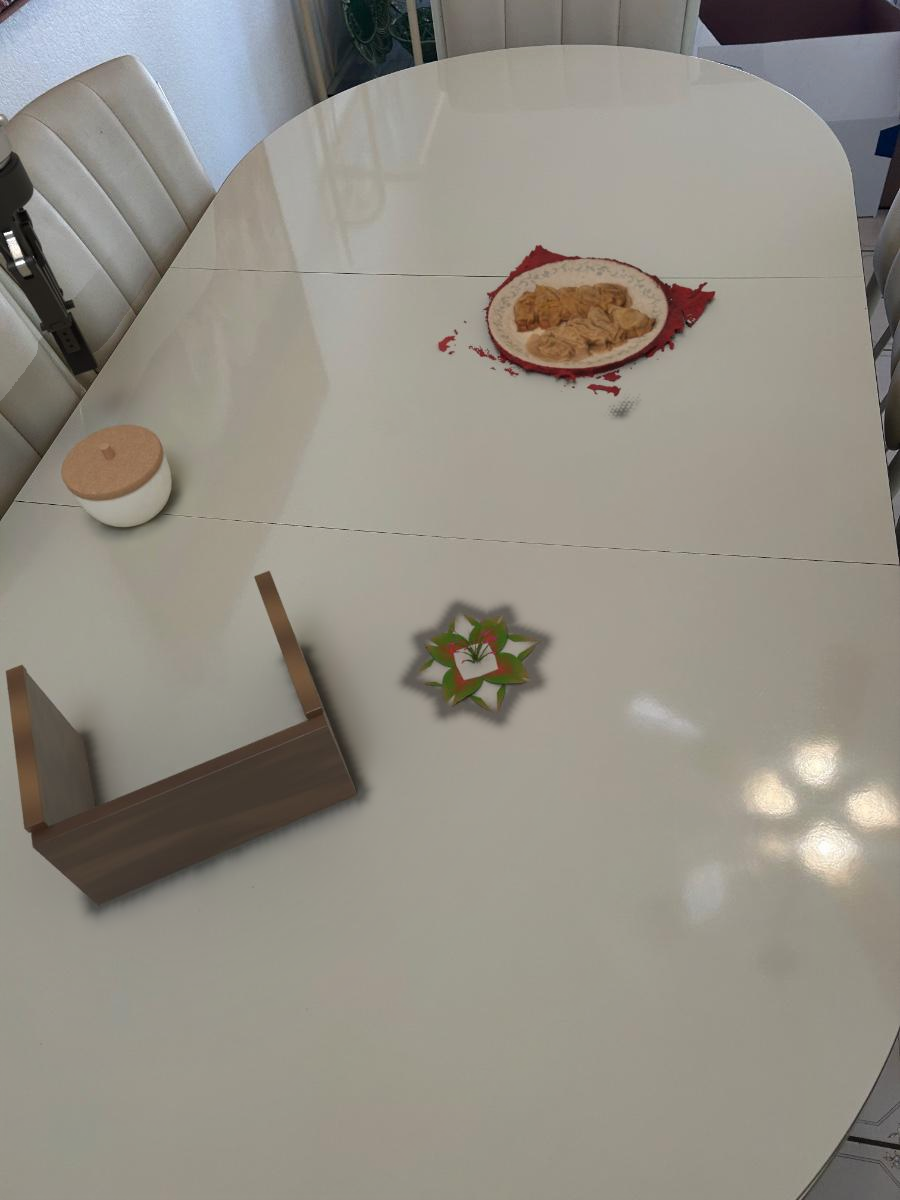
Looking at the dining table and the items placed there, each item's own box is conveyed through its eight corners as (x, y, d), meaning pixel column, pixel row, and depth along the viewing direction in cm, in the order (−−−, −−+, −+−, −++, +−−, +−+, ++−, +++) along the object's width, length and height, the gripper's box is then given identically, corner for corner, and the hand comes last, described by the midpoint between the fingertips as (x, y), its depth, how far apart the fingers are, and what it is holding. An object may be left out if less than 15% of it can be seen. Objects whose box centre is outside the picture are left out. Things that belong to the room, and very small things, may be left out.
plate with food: (538, 257, 127) (537, 233, 124) (715, 301, 115) (717, 277, 112) (436, 357, 116) (432, 334, 114) (618, 417, 105) (618, 393, 102)
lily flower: (505, 740, 81) (501, 713, 77) (388, 692, 85) (379, 663, 82) (563, 638, 87) (562, 608, 83) (451, 597, 91) (445, 567, 88)
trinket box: (203, 486, 106) (174, 423, 98) (147, 554, 100) (113, 492, 93) (129, 466, 109) (96, 404, 102) (71, 531, 104) (32, 469, 96)
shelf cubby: (73, 748, 86) (5, 670, 76) (305, 656, 89) (269, 570, 79) (99, 909, 76) (25, 843, 66) (360, 798, 79) (326, 719, 69)
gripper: (22, 180, 84) (127, 388, 102) (9, 125, 92) (108, 327, 110) (-61, 206, 83) (60, 412, 101) (-67, 148, 91) (46, 348, 109)
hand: (85, 368), depth 105 cm, fingers closed
